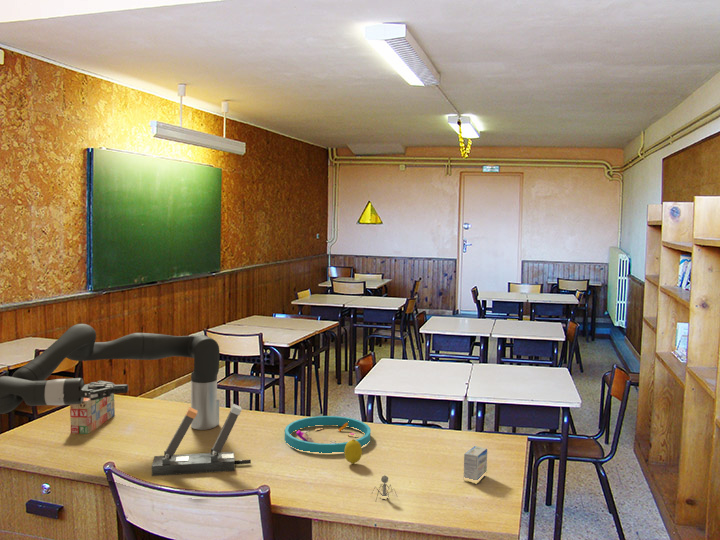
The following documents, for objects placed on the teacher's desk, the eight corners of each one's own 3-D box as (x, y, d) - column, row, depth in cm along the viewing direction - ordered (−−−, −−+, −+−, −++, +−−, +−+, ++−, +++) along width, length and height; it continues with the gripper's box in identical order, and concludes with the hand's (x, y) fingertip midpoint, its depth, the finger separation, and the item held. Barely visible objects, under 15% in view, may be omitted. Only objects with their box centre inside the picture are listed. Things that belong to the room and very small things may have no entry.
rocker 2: (209, 457, 191) (233, 407, 191) (209, 452, 195) (233, 403, 195) (217, 460, 191) (241, 410, 192) (217, 455, 196) (241, 406, 196)
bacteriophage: (365, 499, 174) (365, 476, 173) (383, 490, 180) (383, 467, 179) (385, 507, 169) (385, 483, 169) (402, 497, 175) (403, 474, 175)
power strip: (151, 476, 186) (151, 460, 185) (154, 465, 193) (154, 450, 193) (251, 469, 192) (251, 454, 192) (250, 459, 200) (250, 445, 199)
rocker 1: (161, 460, 188) (188, 410, 188) (162, 454, 192) (189, 406, 192) (169, 463, 188) (197, 414, 189) (170, 458, 192) (197, 410, 193)
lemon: (363, 462, 200) (364, 437, 199) (358, 468, 195) (358, 443, 194) (347, 459, 202) (348, 435, 201) (341, 465, 196) (342, 441, 196)
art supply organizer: (266, 439, 219) (267, 423, 219) (328, 420, 241) (328, 405, 241) (326, 463, 199) (327, 445, 198) (388, 440, 221) (388, 424, 220)
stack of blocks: (99, 414, 241) (98, 383, 240) (115, 415, 241) (114, 383, 240) (70, 433, 220) (69, 399, 219) (87, 434, 219) (87, 400, 218)
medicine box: (477, 485, 184) (478, 456, 184) (462, 481, 187) (464, 453, 186) (486, 476, 191) (487, 448, 190) (473, 472, 193) (474, 445, 193)
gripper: (70, 397, 189) (131, 394, 192) (59, 411, 176) (125, 407, 180) (69, 373, 188) (130, 370, 192) (58, 385, 175) (124, 382, 179)
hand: (127, 388), depth 186 cm, fingers closed
